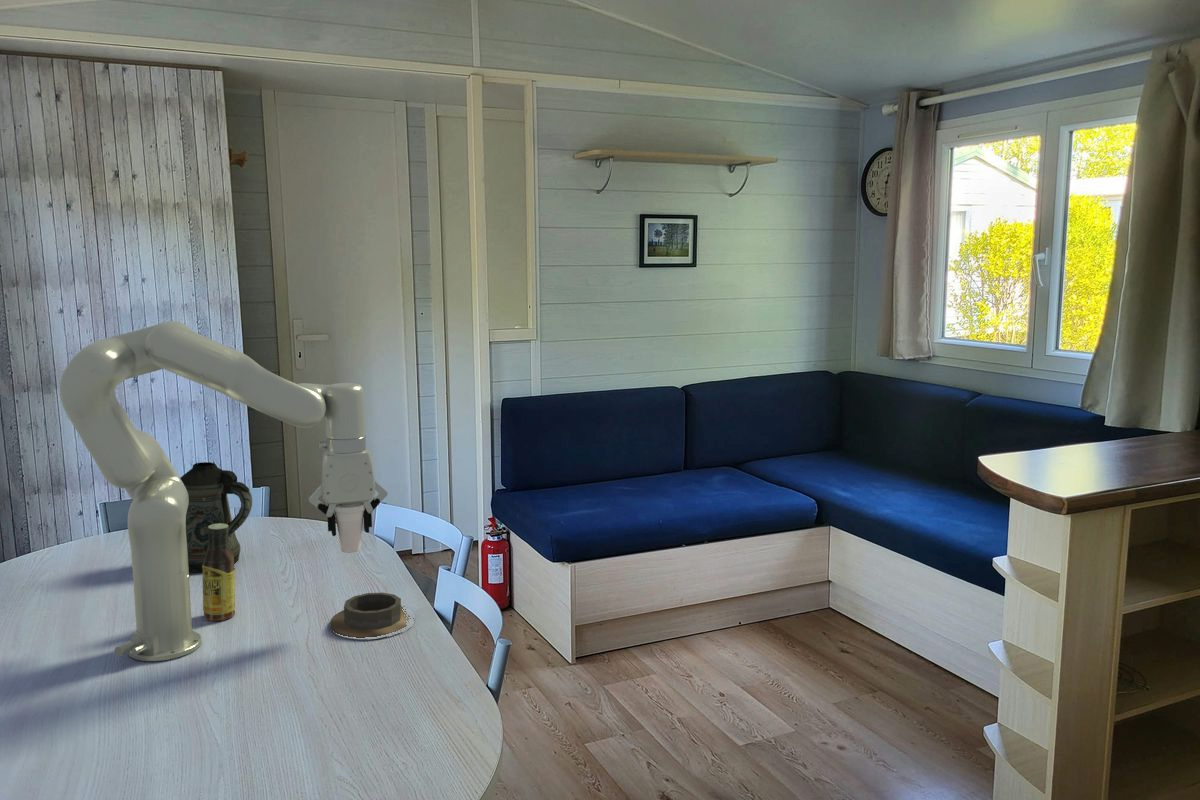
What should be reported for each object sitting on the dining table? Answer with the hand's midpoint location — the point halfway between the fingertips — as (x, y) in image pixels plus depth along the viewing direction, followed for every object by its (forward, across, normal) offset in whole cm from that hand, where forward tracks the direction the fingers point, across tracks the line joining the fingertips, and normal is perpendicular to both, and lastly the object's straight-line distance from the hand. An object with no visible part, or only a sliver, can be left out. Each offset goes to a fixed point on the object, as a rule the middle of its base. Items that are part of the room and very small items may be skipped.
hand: (350, 531), depth 180 cm
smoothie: (+4, 0, 0) cm, 4 cm away
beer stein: (+20, -29, +51) cm, 62 cm away
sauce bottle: (+20, -26, +13) cm, 35 cm away
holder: (+20, +4, 0) cm, 20 cm away
